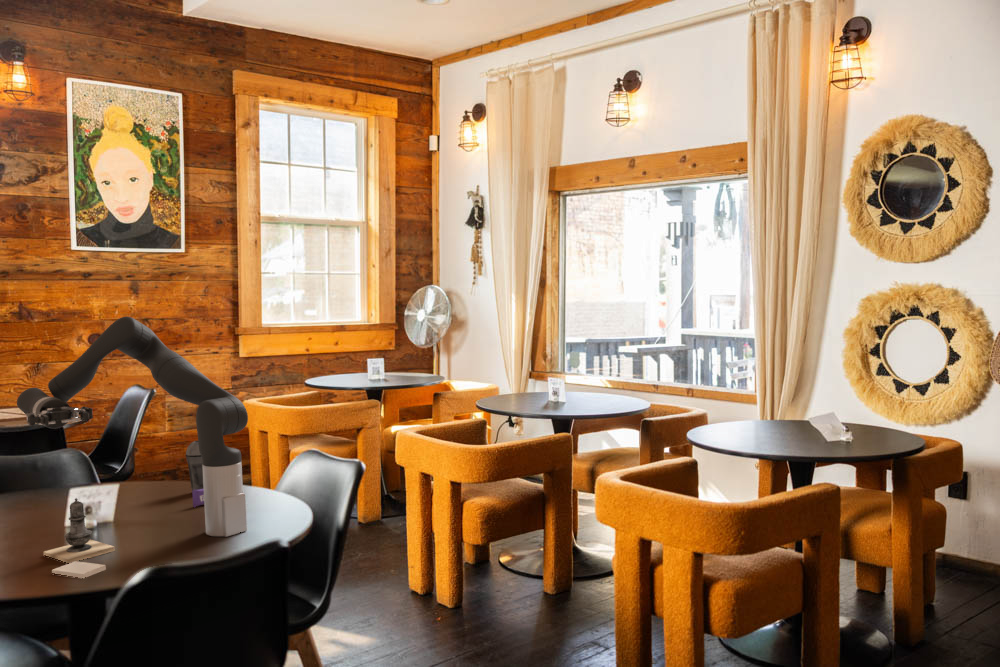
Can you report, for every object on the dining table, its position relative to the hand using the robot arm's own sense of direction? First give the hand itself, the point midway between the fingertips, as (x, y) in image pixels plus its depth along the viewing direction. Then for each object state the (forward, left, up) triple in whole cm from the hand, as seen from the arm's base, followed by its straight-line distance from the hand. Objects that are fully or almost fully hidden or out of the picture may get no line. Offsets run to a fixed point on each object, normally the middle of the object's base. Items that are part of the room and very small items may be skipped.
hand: (66, 418), depth 209 cm
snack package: (+2, -40, -30) cm, 51 cm away
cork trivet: (-11, +5, -30) cm, 32 cm away
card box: (-24, +12, -30) cm, 41 cm away
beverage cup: (+16, -46, -30) cm, 58 cm away
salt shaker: (-11, +5, -29) cm, 32 cm away
